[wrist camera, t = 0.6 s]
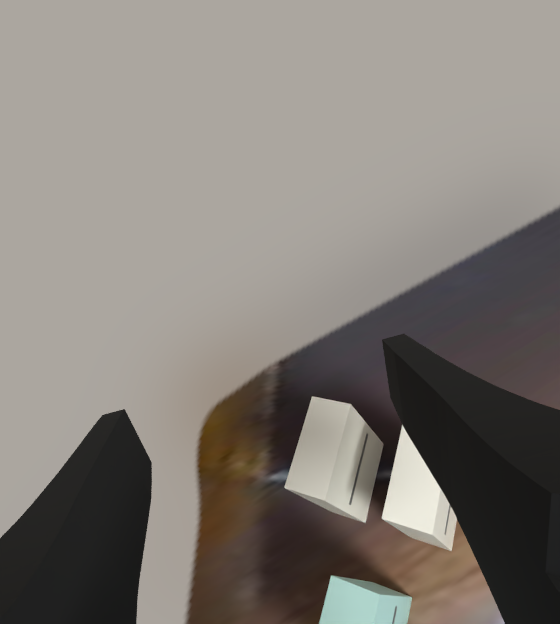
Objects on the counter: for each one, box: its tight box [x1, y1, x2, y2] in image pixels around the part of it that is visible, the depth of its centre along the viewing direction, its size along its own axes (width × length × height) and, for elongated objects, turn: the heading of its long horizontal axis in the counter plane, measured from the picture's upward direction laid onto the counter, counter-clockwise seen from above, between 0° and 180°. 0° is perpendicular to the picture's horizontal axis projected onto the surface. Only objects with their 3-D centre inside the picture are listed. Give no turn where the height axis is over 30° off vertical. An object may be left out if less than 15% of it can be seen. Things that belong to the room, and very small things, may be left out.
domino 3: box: [382, 425, 457, 551], centre depth 22 cm, size 2×4×7 cm, turn 160°
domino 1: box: [284, 396, 384, 523], centre depth 25 cm, size 2×4×7 cm, turn 160°
